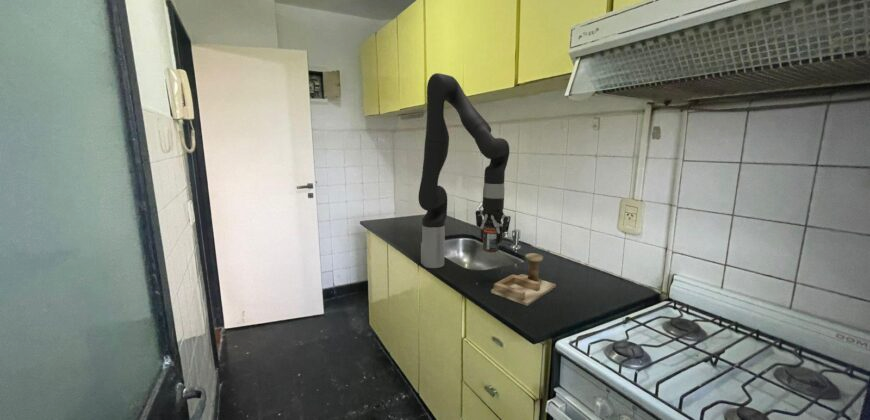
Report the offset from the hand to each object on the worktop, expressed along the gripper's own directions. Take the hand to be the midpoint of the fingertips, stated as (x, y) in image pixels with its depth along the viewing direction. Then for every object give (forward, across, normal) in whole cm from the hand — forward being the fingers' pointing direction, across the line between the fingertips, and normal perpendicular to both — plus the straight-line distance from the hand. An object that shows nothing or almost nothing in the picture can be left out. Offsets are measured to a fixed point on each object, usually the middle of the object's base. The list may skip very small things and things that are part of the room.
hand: (491, 240), depth 129 cm
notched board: (+15, +13, +2) cm, 21 cm away
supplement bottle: (+4, 0, 0) cm, 4 cm away
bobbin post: (+15, +13, +8) cm, 22 cm away
